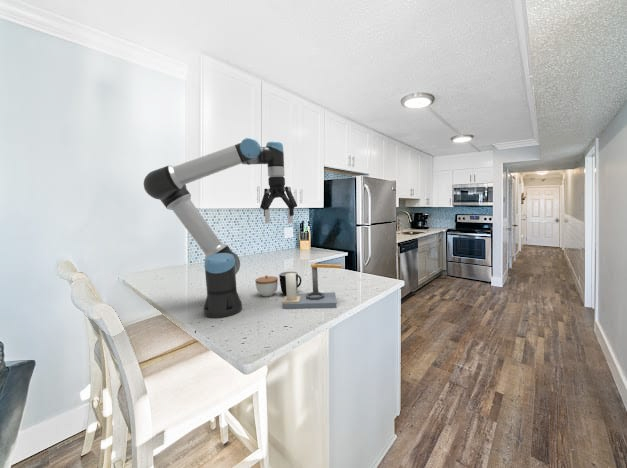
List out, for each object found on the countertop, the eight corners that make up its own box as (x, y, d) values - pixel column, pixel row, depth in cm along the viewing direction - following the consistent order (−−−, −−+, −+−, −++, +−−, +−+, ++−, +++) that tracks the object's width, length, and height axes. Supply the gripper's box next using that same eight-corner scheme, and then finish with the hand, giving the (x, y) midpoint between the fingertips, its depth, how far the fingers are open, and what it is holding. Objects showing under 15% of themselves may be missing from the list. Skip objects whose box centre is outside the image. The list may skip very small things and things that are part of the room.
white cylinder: (286, 300, 117) (284, 275, 116) (287, 297, 121) (286, 272, 120) (296, 300, 116) (295, 275, 115) (297, 297, 121) (296, 272, 120)
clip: (310, 267, 124) (309, 264, 124) (312, 266, 127) (312, 263, 127) (340, 268, 119) (340, 266, 119) (342, 267, 122) (342, 264, 122)
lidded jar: (254, 293, 138) (253, 274, 137) (275, 290, 141) (274, 272, 140) (258, 299, 128) (257, 279, 127) (280, 295, 131) (279, 276, 130)
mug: (287, 298, 128) (286, 276, 127) (276, 294, 134) (275, 273, 133) (307, 292, 135) (306, 272, 135) (296, 288, 142) (295, 269, 141)
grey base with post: (282, 308, 114) (280, 275, 113) (287, 297, 128) (285, 267, 127) (336, 307, 113) (335, 273, 112) (335, 296, 127) (334, 266, 126)
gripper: (303, 175, 122) (305, 222, 124) (262, 180, 136) (264, 222, 138) (293, 173, 116) (295, 223, 118) (251, 179, 130) (253, 223, 131)
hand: (278, 223), depth 128 cm, fingers open, 13 cm apart
